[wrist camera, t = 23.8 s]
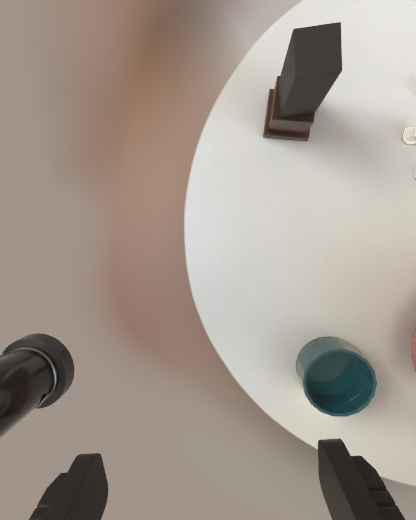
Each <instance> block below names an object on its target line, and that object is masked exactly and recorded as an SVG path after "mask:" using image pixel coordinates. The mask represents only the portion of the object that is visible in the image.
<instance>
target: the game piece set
mask: <svg viewBox="0 0 416 520" xmlns="http://www.w3.org/2000/svg"><path fill="white" fill-rule="evenodd" d="M403 142H404V143H405V144H409V145H413V144H416V126H411V127H408V128H406V129H405V130H404V132H403ZM415 178H416V173H415Z"/></svg>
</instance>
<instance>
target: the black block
mask: <svg viewBox="0 0 416 520" xmlns="http://www.w3.org/2000/svg"><path fill="white" fill-rule="evenodd" d="M341 71H342V54H341V22H339V23H332V24H325V25H318V26H311V27H305V28H298V29H293V33H292V36H291V40H290V44H289V47H288V51H287V54H286V58H285V62H284V65H283V69H282V72H281V76H280V80H279V83H278V89H279V110H280V118H286V117H294V116H303V115H312V114H314V113H315V112H316V110H317V108H318V107H319V105H320V104H321V102H322V101H323V99H324V98H325V96H326V94H327V93H328V91H329V90H330V88H331V87H332V85H333V84H334V82H335V80H336V79H337V77H338V76H339V74H340V73H341Z"/></svg>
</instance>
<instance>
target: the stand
mask: <svg viewBox="0 0 416 520" xmlns="http://www.w3.org/2000/svg"><path fill="white" fill-rule="evenodd" d="M279 80H280V76H278V77H277V80H276V84H275V88H274V89H270V91H269V97H268V104H267V111H266V118H265V126H264V133H263V137H267V138H278V139H289V140H300V141H307V140H308V137H309V131H310V127H311V125H312V124H313V121H314V115H315V113H314V114H312V115H303V116H294V117H286V118H280V110H279V89H278V83H279Z"/></svg>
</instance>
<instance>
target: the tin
mask: <svg viewBox="0 0 416 520" xmlns="http://www.w3.org/2000/svg"><path fill="white" fill-rule="evenodd" d="M296 371H297V375H298V379H299V381H300V384H301V386H302V388H303V391H304V393H305V395H306V397H307V398H308V400H309V401H310V403H311V404H312V405H313V406H314V407H315V408H317V409H318V410H319V411H321V412H323V413H325V414H328V415H331V416H349V415H352V414H355V413H358V412H360V411H361V410H362V409H364V408H365V407H366V406H368V404H369V403H370V401H371V400H372V398H373V397H374V395H375V390H376V385H377V382H376V377H375V372H374V370H373V368H372V367H371V365H370V364H369V362H368V361H367V360H366V359H365V358H364V357H363V356H362V355H361V354H360V353H359V352H358V351H357V350H356V349H355V348H354V347H352V346H351V345H350V344H349V343H347V342H346V341H344V340H342V339H339V338H335V337H322V338H318V339H315V340H313V341H311V342H309V343H308V344H307V345H305V346H304V348H303V349H302V350H301V351H300V353H299V355H298V358H297V362H296Z"/></svg>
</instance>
